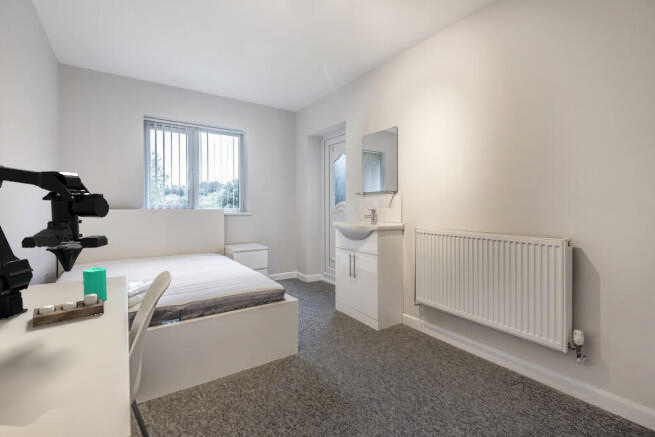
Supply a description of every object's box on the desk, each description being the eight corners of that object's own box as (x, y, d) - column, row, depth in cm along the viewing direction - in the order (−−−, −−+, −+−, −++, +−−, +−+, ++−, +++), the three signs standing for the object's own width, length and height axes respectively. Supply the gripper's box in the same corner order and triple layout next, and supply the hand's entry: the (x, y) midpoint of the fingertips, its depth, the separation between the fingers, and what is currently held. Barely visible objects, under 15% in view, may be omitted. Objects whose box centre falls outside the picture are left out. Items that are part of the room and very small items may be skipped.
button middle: (63, 317, 84) (62, 306, 84) (62, 313, 87) (62, 302, 86) (77, 314, 86) (76, 303, 86) (76, 311, 89) (76, 300, 88)
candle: (94, 305, 94) (93, 267, 94) (79, 303, 96) (77, 266, 95) (111, 298, 100) (110, 263, 99) (96, 297, 102) (95, 262, 101)
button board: (33, 327, 78) (32, 317, 78) (34, 317, 84) (33, 308, 84) (104, 313, 89) (103, 304, 88) (100, 305, 94) (100, 297, 94)
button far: (84, 308, 87) (84, 297, 87) (84, 305, 90) (83, 294, 89) (97, 306, 89) (97, 295, 89) (96, 303, 92) (96, 292, 91)
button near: (39, 321, 81) (39, 310, 81) (39, 318, 83) (39, 306, 83) (54, 318, 83) (54, 307, 83) (54, 315, 85) (54, 304, 85)
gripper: (0, 218, 75) (4, 280, 76) (82, 219, 77) (84, 279, 79) (37, 215, 86) (40, 269, 87) (108, 216, 88) (109, 268, 90)
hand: (67, 271), depth 85 cm, fingers closed
